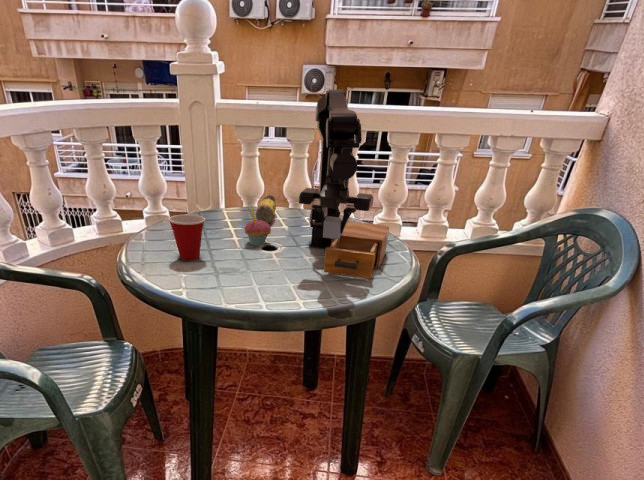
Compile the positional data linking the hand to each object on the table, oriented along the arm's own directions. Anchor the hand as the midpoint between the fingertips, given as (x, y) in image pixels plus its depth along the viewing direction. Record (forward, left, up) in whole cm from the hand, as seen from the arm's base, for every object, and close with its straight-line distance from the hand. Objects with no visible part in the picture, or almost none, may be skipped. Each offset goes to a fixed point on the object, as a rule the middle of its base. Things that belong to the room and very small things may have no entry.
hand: (332, 232), depth 132 cm
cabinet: (+5, +15, -12) cm, 20 cm away
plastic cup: (-43, -3, -12) cm, 45 cm away
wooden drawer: (+5, +2, -11) cm, 12 cm away
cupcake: (-28, +16, -12) cm, 35 cm away
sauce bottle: (-33, +34, -9) cm, 48 cm away
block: (0, 0, -1) cm, 1 cm away
